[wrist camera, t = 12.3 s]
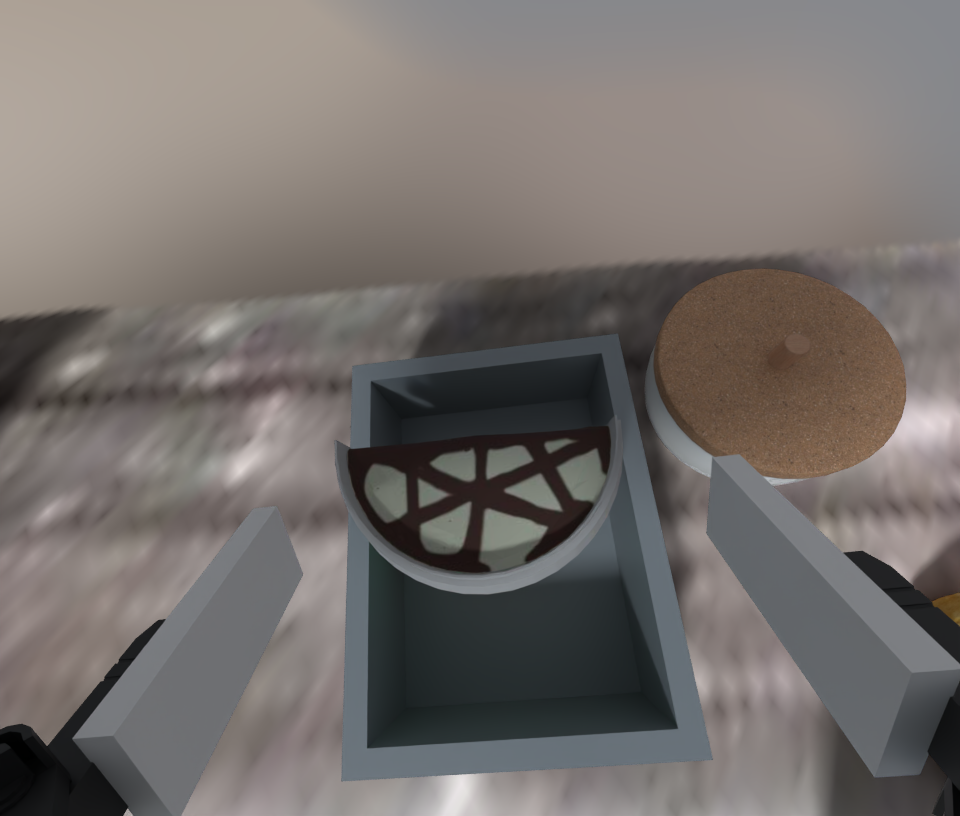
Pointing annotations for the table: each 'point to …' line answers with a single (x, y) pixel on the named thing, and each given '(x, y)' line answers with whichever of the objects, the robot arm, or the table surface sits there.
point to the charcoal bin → (516, 595)
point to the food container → (483, 503)
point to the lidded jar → (773, 376)
